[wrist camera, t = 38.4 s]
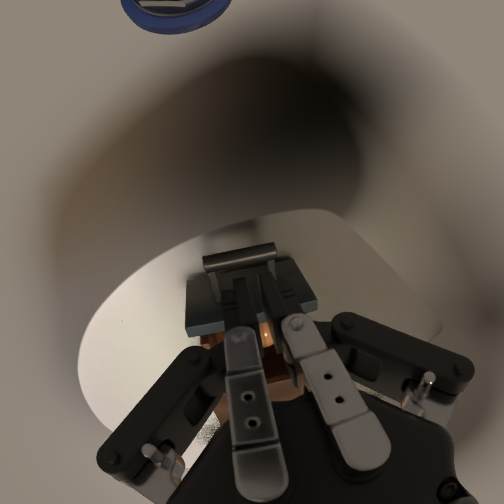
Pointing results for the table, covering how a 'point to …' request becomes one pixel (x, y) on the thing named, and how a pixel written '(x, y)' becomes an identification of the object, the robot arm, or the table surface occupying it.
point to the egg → (264, 335)
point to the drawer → (212, 287)
